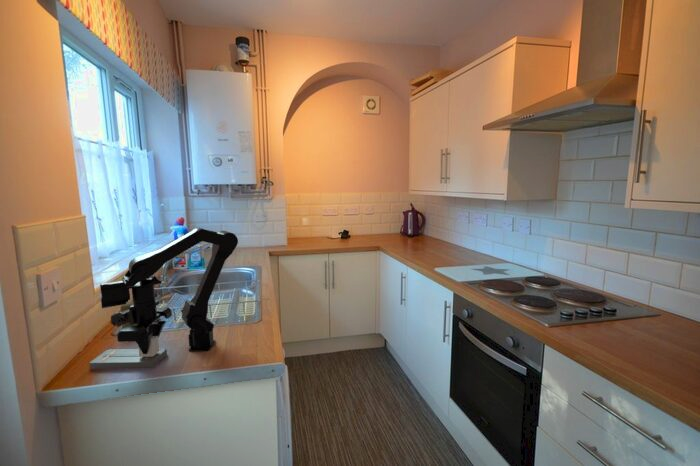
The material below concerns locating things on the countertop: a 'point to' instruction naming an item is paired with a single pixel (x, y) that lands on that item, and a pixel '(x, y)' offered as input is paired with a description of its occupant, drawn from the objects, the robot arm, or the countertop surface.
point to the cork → (124, 308)
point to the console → (126, 359)
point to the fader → (151, 348)
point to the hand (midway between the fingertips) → (149, 350)
